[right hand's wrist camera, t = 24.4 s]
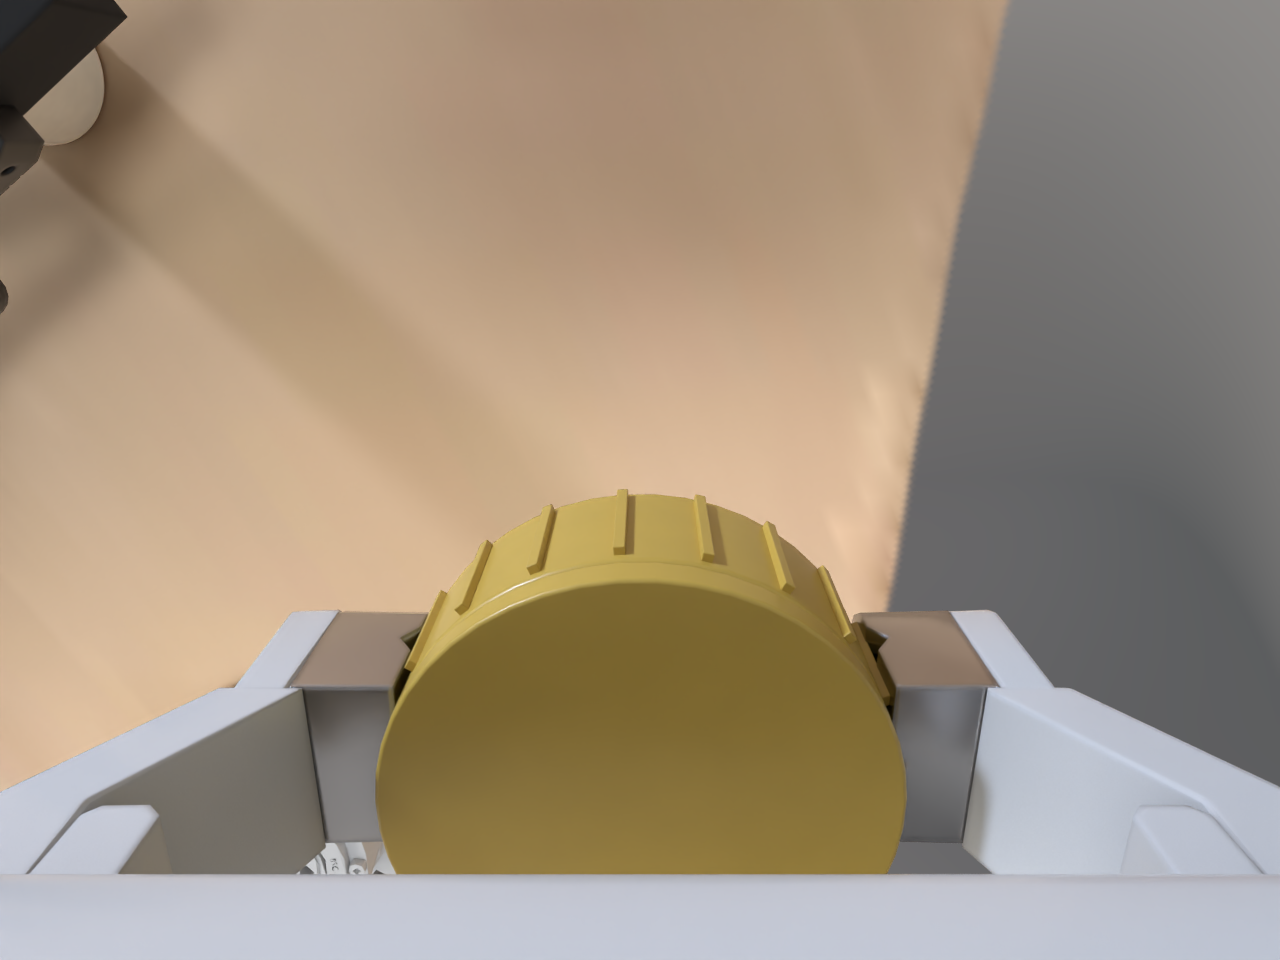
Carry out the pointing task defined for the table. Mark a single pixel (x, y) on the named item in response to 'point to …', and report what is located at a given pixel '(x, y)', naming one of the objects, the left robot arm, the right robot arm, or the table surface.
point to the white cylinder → (70, 104)
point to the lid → (641, 707)
